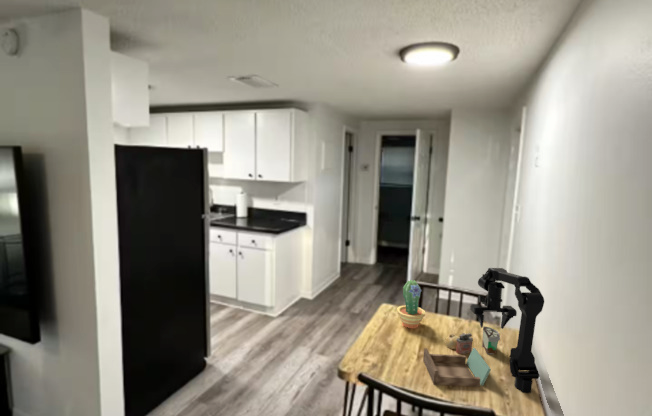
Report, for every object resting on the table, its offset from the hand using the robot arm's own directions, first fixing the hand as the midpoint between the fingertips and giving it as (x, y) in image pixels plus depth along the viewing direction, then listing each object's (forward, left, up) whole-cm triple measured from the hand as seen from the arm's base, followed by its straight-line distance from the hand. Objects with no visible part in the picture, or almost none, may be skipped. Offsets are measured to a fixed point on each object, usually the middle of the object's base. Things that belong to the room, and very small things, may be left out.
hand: (491, 327), depth 165 cm
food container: (+4, -3, -14) cm, 15 cm away
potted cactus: (+30, +30, -14) cm, 45 cm away
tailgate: (-17, +14, -13) cm, 25 cm away
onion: (+6, +15, -14) cm, 21 cm away
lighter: (+1, +12, -14) cm, 18 cm away
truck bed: (-17, +24, -14) cm, 32 cm away
